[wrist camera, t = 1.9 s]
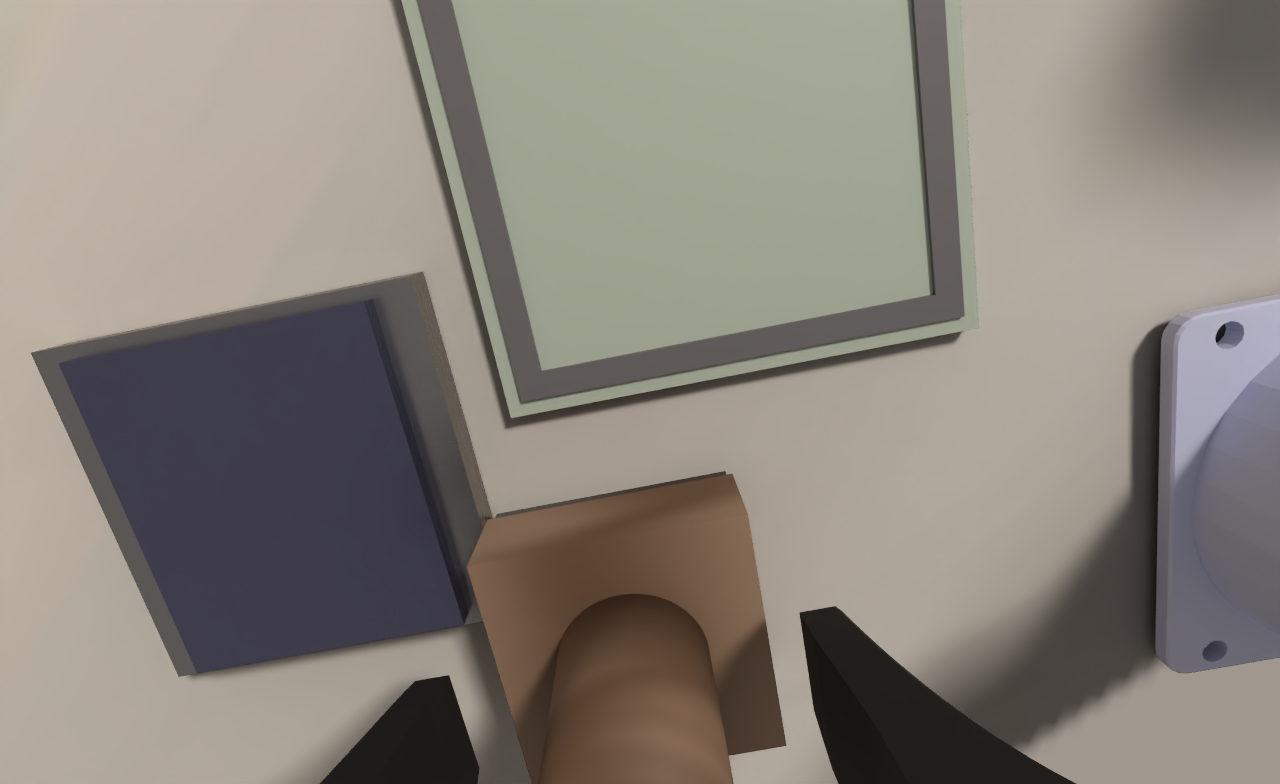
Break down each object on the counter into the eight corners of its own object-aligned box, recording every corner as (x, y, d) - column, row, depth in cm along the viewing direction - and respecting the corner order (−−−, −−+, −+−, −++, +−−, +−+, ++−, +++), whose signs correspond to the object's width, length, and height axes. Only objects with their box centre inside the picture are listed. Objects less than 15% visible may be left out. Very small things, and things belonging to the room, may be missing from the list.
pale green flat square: (934, -234, 11) (949, -255, 10) (968, 324, 13) (981, 329, 12) (379, -109, 11) (366, -124, 10) (514, 411, 13) (510, 420, 13)
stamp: (728, 463, 14) (806, 669, 8) (763, 666, 15) (852, 976, 9) (492, 508, 14) (389, 743, 8) (547, 704, 15) (494, 1031, 9)
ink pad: (422, 271, 13) (401, 278, 11) (514, 595, 14) (504, 629, 13) (66, 343, 13) (10, 357, 12) (202, 651, 15) (165, 690, 14)
